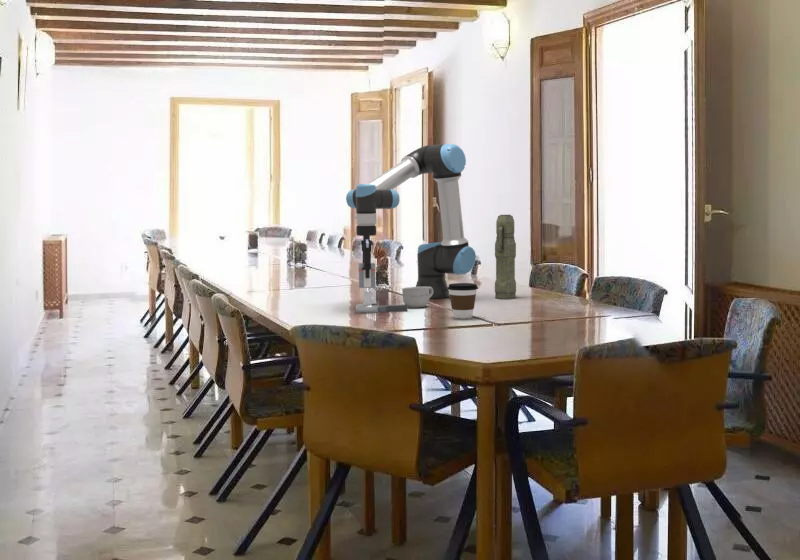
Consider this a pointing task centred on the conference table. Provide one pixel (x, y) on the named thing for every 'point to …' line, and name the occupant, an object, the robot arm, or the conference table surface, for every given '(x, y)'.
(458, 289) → the coffee cup
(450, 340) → the conference table surface
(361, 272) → the red-striped grey block
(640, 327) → the conference table surface
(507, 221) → the thermos
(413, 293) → the teacup
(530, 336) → the conference table surface
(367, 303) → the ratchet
